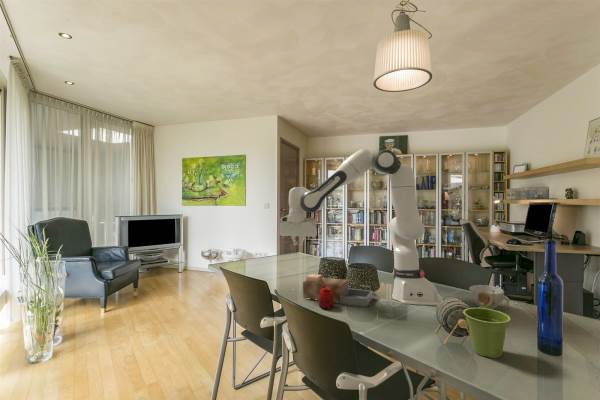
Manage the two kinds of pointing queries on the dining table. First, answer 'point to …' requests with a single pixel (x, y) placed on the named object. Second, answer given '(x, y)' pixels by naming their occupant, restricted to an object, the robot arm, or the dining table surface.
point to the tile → (313, 278)
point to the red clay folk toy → (326, 297)
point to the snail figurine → (485, 300)
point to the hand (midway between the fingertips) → (298, 245)
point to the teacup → (488, 290)
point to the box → (356, 297)
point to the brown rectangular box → (336, 286)
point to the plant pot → (487, 330)
